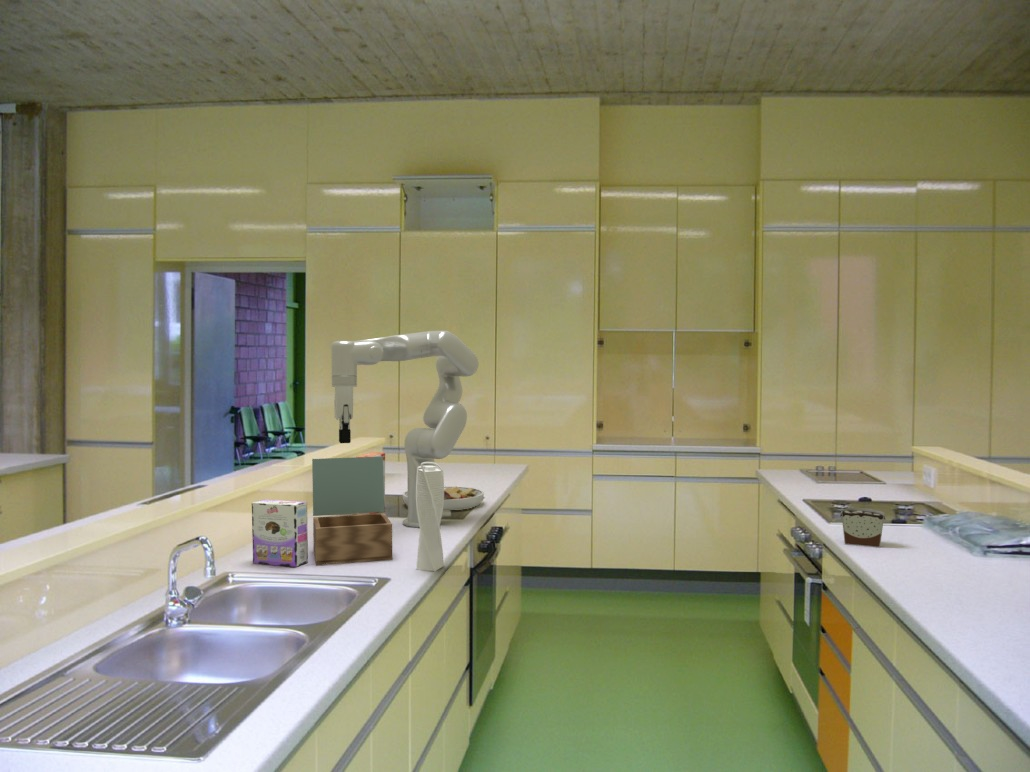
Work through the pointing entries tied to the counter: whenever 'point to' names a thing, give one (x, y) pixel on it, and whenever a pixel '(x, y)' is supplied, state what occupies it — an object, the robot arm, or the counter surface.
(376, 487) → the box lid
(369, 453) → the cracker box
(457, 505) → the bowl
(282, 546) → the candy box
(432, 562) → the skyscraper
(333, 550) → the storage box
